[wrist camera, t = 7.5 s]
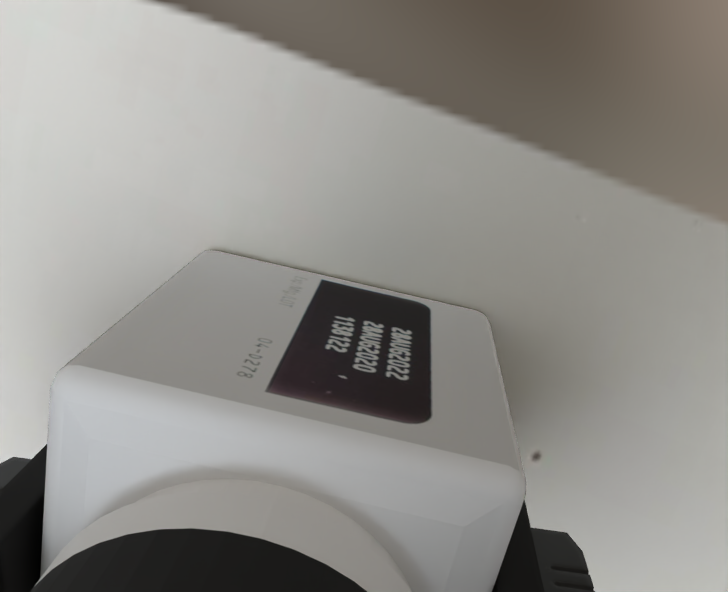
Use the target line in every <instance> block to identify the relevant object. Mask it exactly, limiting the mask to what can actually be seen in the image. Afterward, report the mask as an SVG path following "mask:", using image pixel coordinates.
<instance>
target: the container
mask: <svg viewBox="0 0 728 592" xmlns="http://www.w3.org/2000/svg"><path fill="white" fill-rule="evenodd" d="M525 494H526V478H525V474H524V470H523V465H522V461H521V457H520V452H519V448H518V444H517V439H516V435H515V430H514V426H513V422H512V417H511V413H510V409H509V404H508V400H507V396H506V391H505V387H504V383H503V378H502V374H501V370H500V365H499V361H498V357H497V352H496V348H495V344H494V339H493V335H492V331H491V326H490V322H489V320H488V319H487V317H486V315H484V314H483V313H481V312H479V311H477V310H472V309H468V308H464V307H459V306H455V305H450V304H446V303H442V302H437V301H433V300H429V299H424V298H420V297H416V296H411V295H407V294H403V293H398V292H394V291H390V290H385V289H381V288H376V287H372V286H368V285H363V284H359V283H355V282H350V281H346V280H342V279H337V278H333V277H329V276H324V275H320V274H316V273H311V272H307V271H303V270H298V269H294V268H289V267H285V266H281V265H276V264H272V263H268V262H263V261H259V260H255V259H250V258H246V257H242V256H237V255H233V254H229V253H224V252H220V251H215V250H212V251H204V252H202V253H201V254H199V255H198V256H197V257H196V258H194V259H193V260H192V261H191V262H189V263H188V264H187V265H186V266H185V267H183V268H182V269H181V270H180V271H179V272H177V273H176V274H175V275H174V276H173V277H171V278H170V279H169V280H168V281H166V282H165V283H164V284H163V285H162V286H160V287H159V288H158V289H157V290H156V291H154V292H153V293H152V294H151V295H150V296H148V297H147V298H146V299H145V300H143V301H142V302H141V303H140V304H139V305H137V306H136V307H135V308H134V309H133V310H131V311H130V312H129V313H128V314H127V315H125V316H124V317H123V318H122V319H121V320H119V321H118V322H117V323H116V324H114V325H113V326H112V327H111V328H110V329H108V330H107V331H106V332H105V333H104V334H102V335H101V336H100V337H99V338H98V339H96V340H95V341H94V342H93V343H91V344H90V345H89V346H88V347H87V348H85V349H84V350H83V351H82V352H81V353H79V354H78V355H77V356H76V357H75V358H73V359H72V360H71V361H70V362H68V363H67V364H66V365H65V366H64V367H62V368H61V369H60V370H59V371H58V372H57V374H56V376H55V378H54V380H53V382H52V385H51V388H50V403H49V422H48V440H47V459H46V478H45V496H44V515H43V534H42V552H41V571H40V579H39V581H38V582H37V583H36V585H35V586H34V587H33V589H32V590H31V591H30V592H492V590H493V587H494V584H495V581H496V579H497V576H498V573H499V570H500V567H501V564H502V561H503V559H504V556H505V553H506V550H507V547H508V544H509V541H510V539H511V536H512V533H513V530H514V527H515V524H516V521H517V519H518V516H519V513H520V510H521V507H522V504H523V501H524V498H525Z"/></svg>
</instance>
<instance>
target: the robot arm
mask: <svg viewBox="0 0 728 592" xmlns="http://www.w3.org/2000/svg"><path fill="white" fill-rule="evenodd" d="M46 459H47V445H46V446H45V447H44V448H43V449H42V450H41V451H40V452H39V453H38V454H37V455H36V456H35V457H34V458H33V459H25V458H18V457H12V458H10V459H8V460H7V461H5V462H3V463H1V464H0V592H30V591H31V590H32V589H33V587H34V586H35V585H36V583H37V582H38V581H39V579H40V571H41V552H42V534H43V515H44V496H45V478H46ZM588 572H589V571H588V568H587V564H586V561H585V558H584V555H583V552H582V550H581V549H580V548H579V547H578V545H577V544H576V543H575V542H574V541H573V539H572V538H571V537H570V536H569V535H568V534H567V533H565V532H557V531H550V530H543V529H536V528H530V523H529V518H528V514H527V509H526V505H525V500H524V501H523V504H522V507H521V510H520V513H519V516H518V519H517V521H516V524H515V527H514V530H513V533H512V536H511V539H510V541H509V544H508V547H507V550H506V553H505V556H504V559H503V561H502V564H501V567H500V570H499V573H498V576H497V579H496V581H495V584H494V587H493V590H492V592H595V591H594V590H593V588H594V587H593V583H592V580H591V577H590V575H589V574H588Z"/></svg>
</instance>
